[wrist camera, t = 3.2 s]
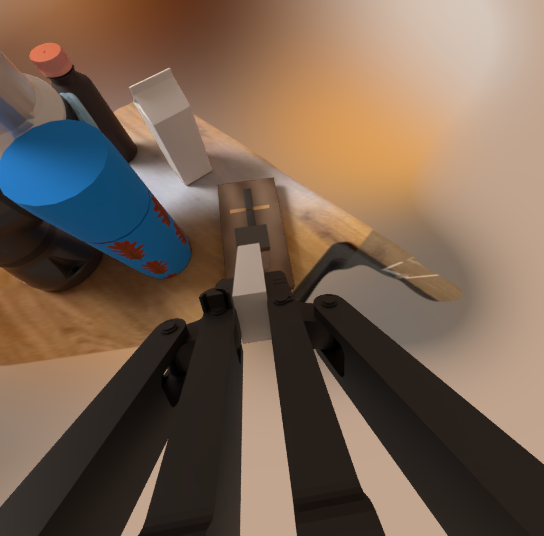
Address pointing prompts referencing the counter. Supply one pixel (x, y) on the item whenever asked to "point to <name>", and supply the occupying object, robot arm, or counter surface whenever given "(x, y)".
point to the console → (253, 222)
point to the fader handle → (255, 240)
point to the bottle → (82, 94)
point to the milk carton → (172, 125)
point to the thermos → (92, 196)
